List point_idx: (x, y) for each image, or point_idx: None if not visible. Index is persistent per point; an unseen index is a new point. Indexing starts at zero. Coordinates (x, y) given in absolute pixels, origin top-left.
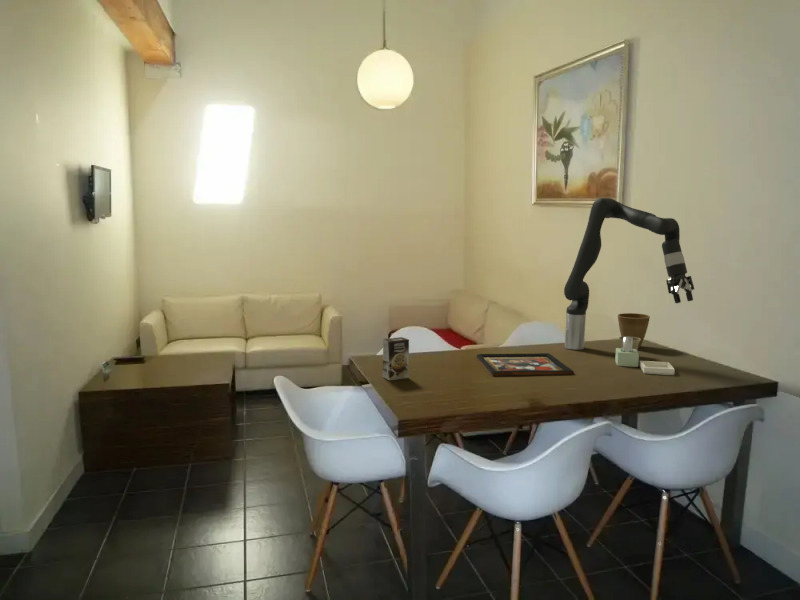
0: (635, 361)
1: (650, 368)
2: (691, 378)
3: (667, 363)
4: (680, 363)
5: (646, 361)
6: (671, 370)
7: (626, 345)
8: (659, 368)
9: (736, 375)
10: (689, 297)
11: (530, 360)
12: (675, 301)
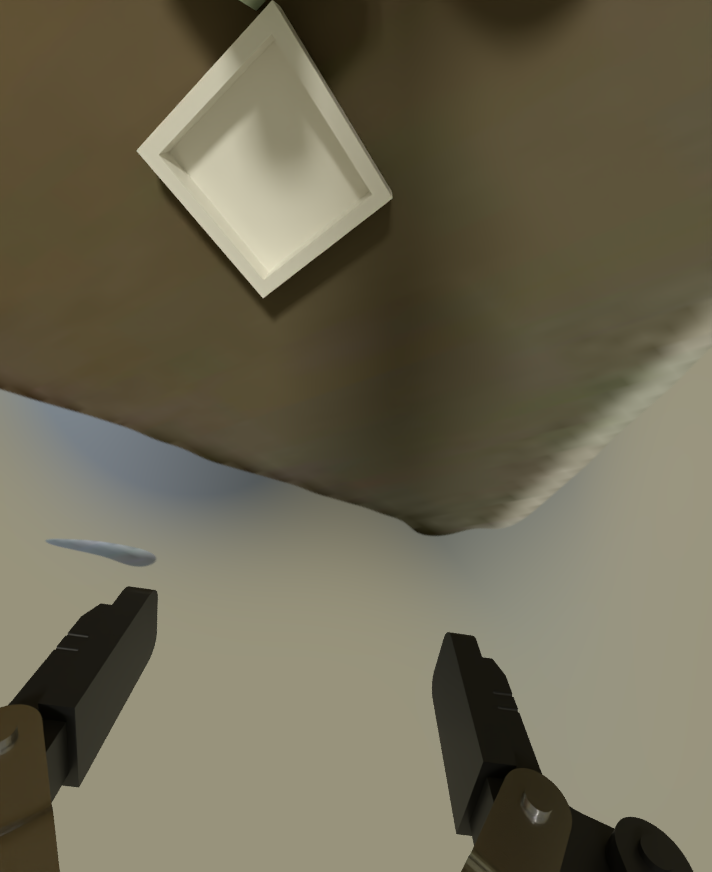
0: None
1: (169, 186)
2: (284, 361)
3: (356, 206)
4: (556, 190)
5: (293, 62)
6: (253, 283)
7: None
8: (206, 231)
9: (473, 453)
10: (446, 706)
11: None
12: (93, 618)
